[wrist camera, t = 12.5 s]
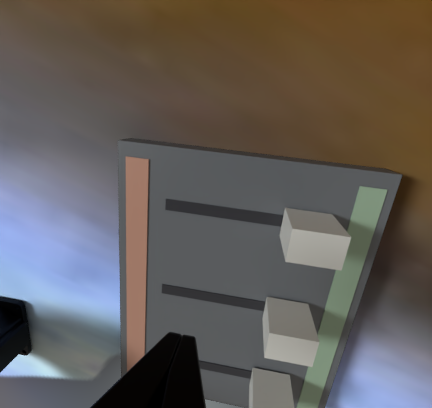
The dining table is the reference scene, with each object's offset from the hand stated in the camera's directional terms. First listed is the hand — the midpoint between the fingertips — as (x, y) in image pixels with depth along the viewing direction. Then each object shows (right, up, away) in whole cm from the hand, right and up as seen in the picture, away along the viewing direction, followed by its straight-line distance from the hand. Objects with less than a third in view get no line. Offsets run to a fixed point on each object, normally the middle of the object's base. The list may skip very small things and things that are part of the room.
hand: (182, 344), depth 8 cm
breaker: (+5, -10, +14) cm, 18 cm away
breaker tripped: (+7, +3, +9) cm, 12 cm away
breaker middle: (+6, -4, +12) cm, 14 cm away
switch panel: (+3, -3, +14) cm, 14 cm away
